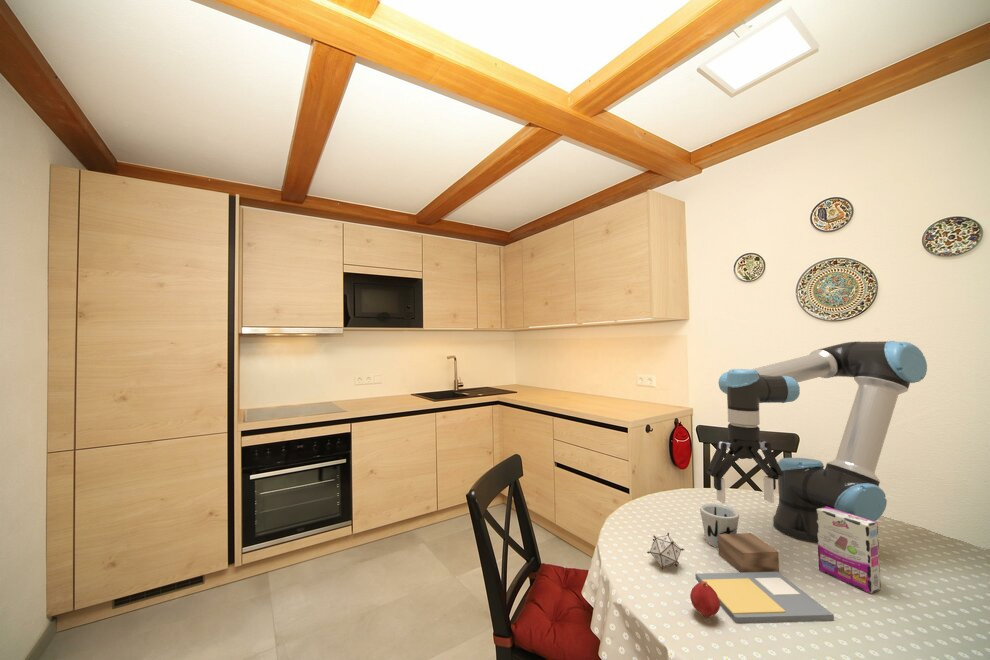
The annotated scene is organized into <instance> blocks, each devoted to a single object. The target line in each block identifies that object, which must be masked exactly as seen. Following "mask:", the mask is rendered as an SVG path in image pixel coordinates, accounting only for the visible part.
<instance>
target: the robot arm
mask: <svg viewBox="0 0 990 660" xmlns="http://www.w3.org/2000/svg"><path fill="white" fill-rule="evenodd" d="M927 371H928V364H927V360H926V357H925V356H924V353H923V352H922V350H921V349H920V348H919V347H918V346H917V345H915V344H913V343H911V342H907V341H895V340H887V341H849V342H842V343H839V344H834V345H830V346H826V347H822V348H818V349H815V350H813V351H811V352H810V353H809V354H807V355H804V356H803V355H802V356H800V357H797V358H796V357H795V358H791V359H788V360H784V361H779V362H775V363H772V364H767V365H762V366H759V367H755V368H752V369H748V368H746V369H743V368H741V369H740V368H733V369H732V368H731V369H729V370H728V371H726V372H723V373H722V374H721V375H720V376H719V379H718V387H719V389H720V391H721V392H722V393H723V394H726V399H727V422H728V425H727V437H728V442H725V441H721V440H718V441H717V442H716V450H715V452H714V454H713V456H712V459H711V460H710V463H709V465H708V467H707V468H706V473H707V474H708V475H709V476H711V477H713V488H714V490H716V500H717V501H718V502H719V503H722V505H725V504H726V479H725V478H723V477H724V476H725V474H727V472H728V471H729V470H730V469H731V468H732V466H733V465H734V464H735V462H737V461H739V460H745V459H748V460H752V459H753V461H754V462H755V464H757V465H758V466H759V468H760V469H761V470H762V471H763V473H764V474H765V475H763V499H764V500H765V501H766V502H768V503H771V504H774V502H775V496H774V495H775V493H774V491H775V490H776V489H777V488H776V486H777V485H778V505H777V507H776V510H775V513H774V516H773V518H772V523H773V527H774V528H775V530H777V531H778V532H780V533H782V534H784V535H785V536H788V537H789V538H793V539H797V540H800V541H804V542H808V543H815V544H816V543H817V544H818V536H817V512H816V509H819V508H822V507H826V506H827V507H830V508H833V509H836V510H839V511H843V512H846V513H849V514H852V515H855V516H858V517H862V518H865V519H868V520H871V521H874V522H877V520H879V519H880V517H882V516H883V514H884V513H885V510H886V508H887V503H888V502H887V501H888V499H886V496H887V495H886V493H885V491H884V490H883V488H881V487H880V483H881V480H880V479H879V478H878V477H877V475H876V473H875V472H876V469H877V466H878V463H879V459H880V456H881V453H882V451H883V450H882V449H883V446H884V443H885V440H886V436H887V434H888V430H889V428H890V427H889V426H890V424H891V420H892V417H893V414H894V410H895V407H896V405H897V401H898V397H899V395H901V394H905V393H906V392H908V391H909V387H910V385H911V384H916V383H918V382H919V383H920V382H921V380H924V378H925V377H926V375H927ZM834 377H841V378H842V377H843V378H844V377H845V378H846V377H847V378H853V380H854V381H855V382H856V384H857V386H858V388H857V391H856V394H855V395H854V399H853V403H852V405H851V406H852V407H851V408H850V412H849V415H848V418H847V421H846V424H845V427H844V430H843V435H842V436H841V437H842V438H841V440H840V443H839V446H838V449H837V453H836V456H835V459H832V460H830V461H828V462H827V463H826V465H825V466H824V463H823V462H822V461H821V460H817V459H814V458H813V459H812V458H805V457H783V458H780V459H779V461H778V460H777V458H776V457H775V455H774V453H773V451H772V445H771V443H770V442H768V441H765V440H761V431H760V427H759V425H760V424H761V423H760V421H761V418H760V404H762V403H763V404H764V403H765V404H766V403H767V404H768V403H769V404H770V403H779V404H780V403H781V404H784V403H789V402H790V403H791V402H795V401H796V400H797V399H799V396H800V391H801V390H800V385H799V383H802V382H805V381H806V382H807V381H808V380H809V381H810V380H813V379H817V378H822V379H829V378H834ZM759 450H760V451H761V452H762V454H763V456H764V458H765V460H766V461H765V460H764V458H763V456H762V455H761V453H759ZM727 451H728V452H727ZM824 467H825V468H824ZM776 481H777V482H776ZM776 484H777V485H776Z"/></svg>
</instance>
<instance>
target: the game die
mask: <svg viewBox="0 0 990 660" xmlns="http://www.w3.org/2000/svg"><path fill="white" fill-rule="evenodd" d="M652 537H653V538H652V545H651V547H650V550H647V552H646V553H647V554H651V556H652V557H653V558H654V560H656V562H658V564H659V565H660V566H661V571H663V570H664V568H666V567H670V566H675V567H678V565H680V562H679V561H678V560H679V558H680V555H681V552H682V551H685V549H684V548H680V546H679V545H678V544H676V543H677V542H675V541H674V540H673V538H671V536H670V532H669V531H668V532H667V534H666V535H662V536H657V537H656V535H654V534H653V536H652Z"/></svg>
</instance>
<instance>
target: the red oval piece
mask: <svg viewBox="0 0 990 660" xmlns="http://www.w3.org/2000/svg"><path fill="white" fill-rule="evenodd" d="M689 597H690V602H691V605H692V606H693V608H694V609H695V610H696V611H697V612H698V613H699V614H700V615H701V616H702V617H703V618H705V619H708V618H711V617H712V616H715V615H716V614H718V612H719V611H720V608H721V606H720V601H719V598H718V595H717V593H716V592H715V591H714V589H713V588H712V587H711V586H709V585H708V584H707V581H703V582H701V583H699V582H698V583H696V584H695V585H694V586H693V587H692V588H691V591H690V594H689Z"/></svg>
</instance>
